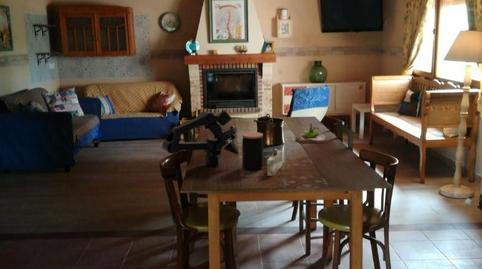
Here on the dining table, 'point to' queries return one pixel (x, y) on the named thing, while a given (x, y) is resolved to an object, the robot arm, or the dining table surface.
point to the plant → (311, 136)
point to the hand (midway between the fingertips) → (237, 153)
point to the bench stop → (274, 162)
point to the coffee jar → (252, 151)
